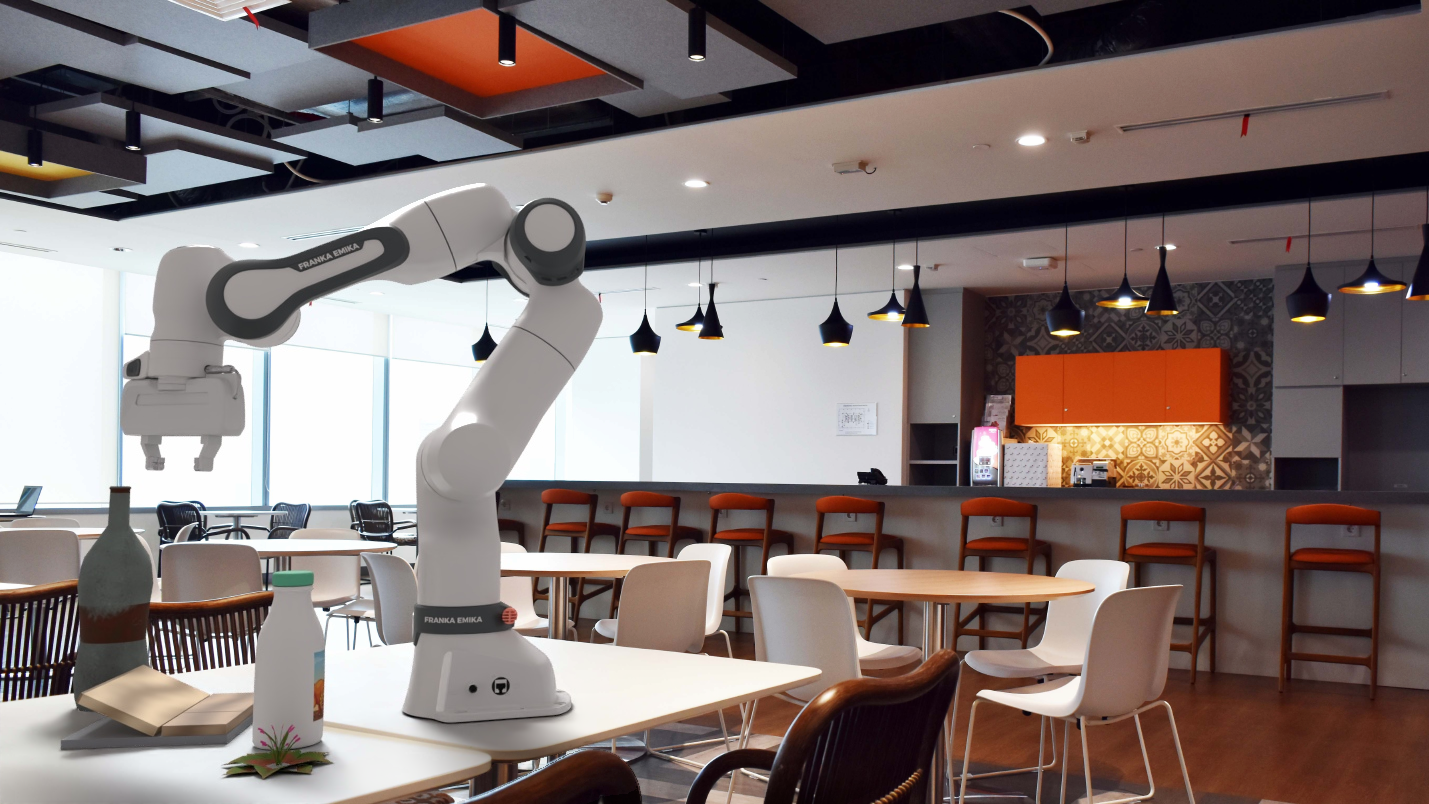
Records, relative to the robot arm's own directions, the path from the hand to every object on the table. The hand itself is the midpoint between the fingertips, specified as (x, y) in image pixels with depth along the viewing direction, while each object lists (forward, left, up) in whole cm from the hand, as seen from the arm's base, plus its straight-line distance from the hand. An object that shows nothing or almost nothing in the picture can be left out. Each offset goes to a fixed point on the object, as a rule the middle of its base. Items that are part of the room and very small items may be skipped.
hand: (178, 471), depth 140 cm
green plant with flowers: (-20, +26, -33) cm, 46 cm away
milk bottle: (-18, +16, -32) cm, 40 cm away
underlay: (-2, +5, -32) cm, 33 cm away
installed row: (-8, +5, -31) cm, 32 cm away
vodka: (+11, -10, -32) cm, 35 cm away
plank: (+1, +5, -29) cm, 29 cm away
